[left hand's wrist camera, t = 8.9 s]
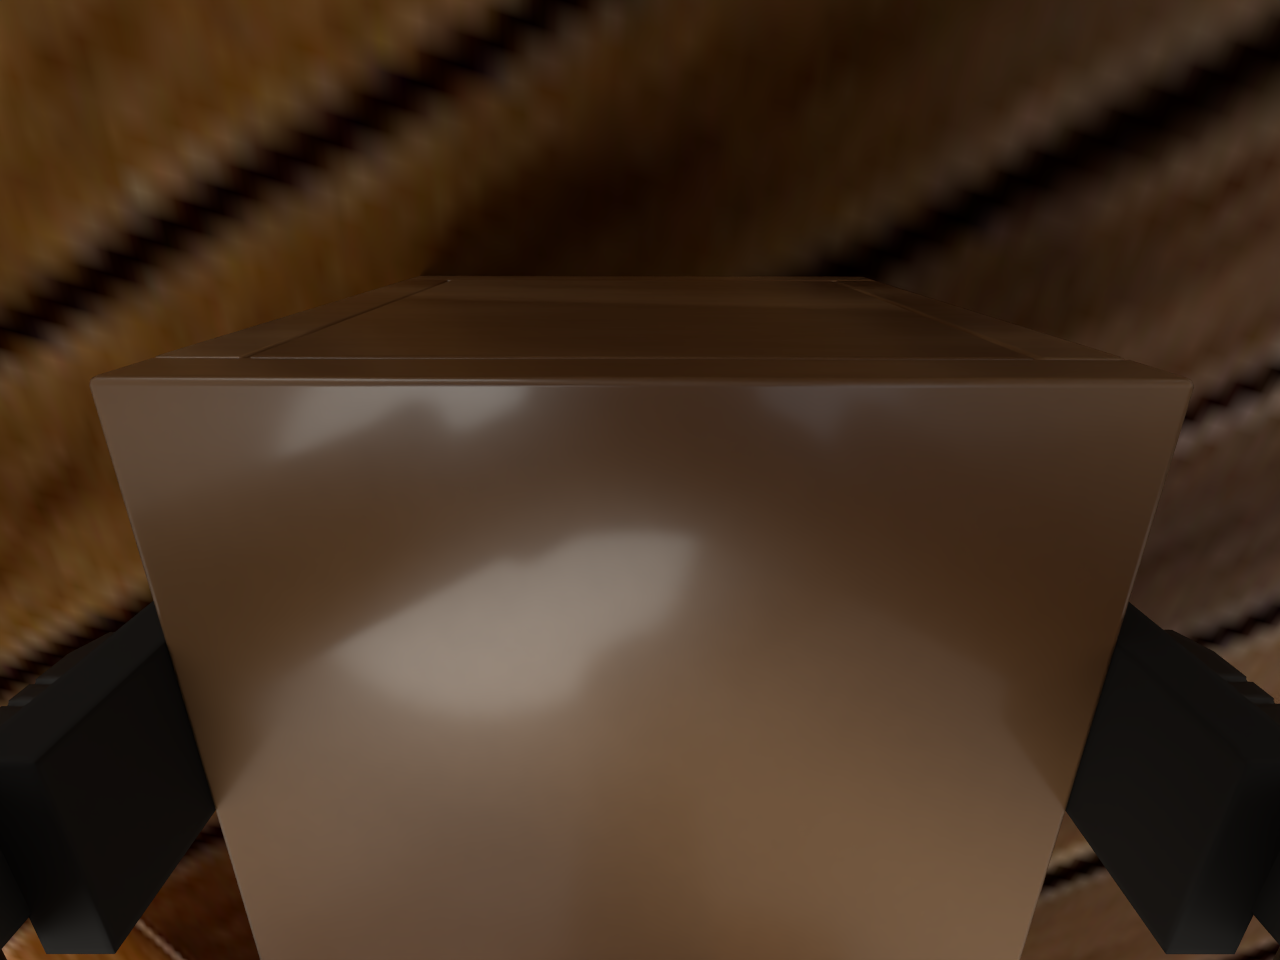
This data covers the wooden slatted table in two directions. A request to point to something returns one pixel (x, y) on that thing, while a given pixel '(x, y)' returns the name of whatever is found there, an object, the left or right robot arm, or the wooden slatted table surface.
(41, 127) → the wooden slatted table surface
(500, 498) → the cabinet
